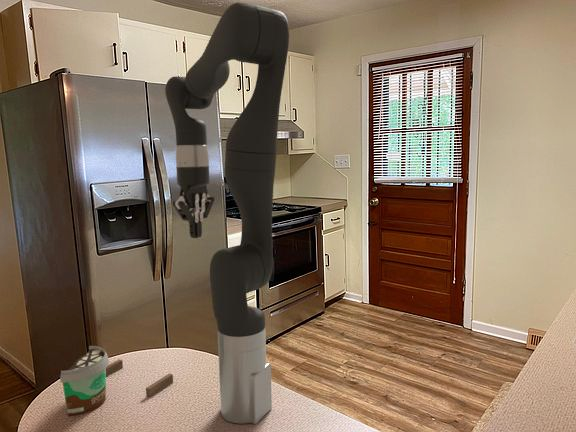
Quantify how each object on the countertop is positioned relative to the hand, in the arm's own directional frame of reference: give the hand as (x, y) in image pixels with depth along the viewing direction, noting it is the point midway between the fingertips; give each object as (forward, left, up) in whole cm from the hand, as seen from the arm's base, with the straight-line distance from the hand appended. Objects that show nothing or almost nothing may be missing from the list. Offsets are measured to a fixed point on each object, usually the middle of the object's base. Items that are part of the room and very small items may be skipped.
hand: (196, 237), depth 106 cm
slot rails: (+7, +16, -31) cm, 35 cm away
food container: (+7, +26, -31) cm, 41 cm away
